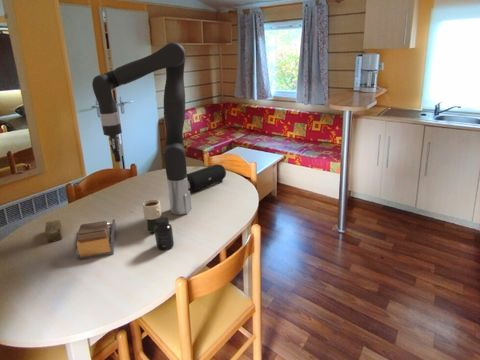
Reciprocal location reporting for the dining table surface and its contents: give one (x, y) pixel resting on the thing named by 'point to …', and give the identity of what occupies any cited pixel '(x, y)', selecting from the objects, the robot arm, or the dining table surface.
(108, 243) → the roller track
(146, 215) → the character mug
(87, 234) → the brown wooden block
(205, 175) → the portable speaker
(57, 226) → the stone block
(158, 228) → the supplement bottle
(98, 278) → the dining table surface
